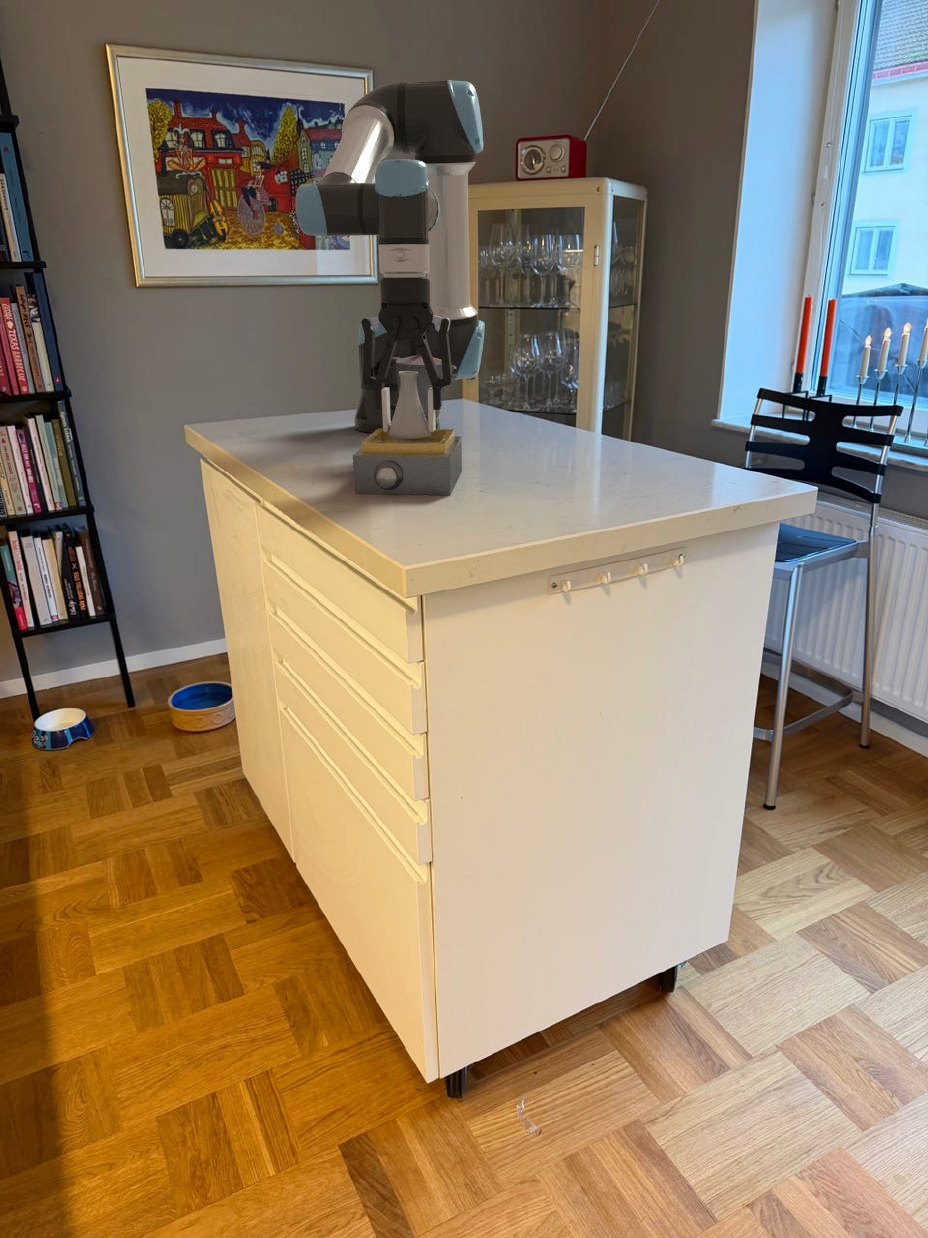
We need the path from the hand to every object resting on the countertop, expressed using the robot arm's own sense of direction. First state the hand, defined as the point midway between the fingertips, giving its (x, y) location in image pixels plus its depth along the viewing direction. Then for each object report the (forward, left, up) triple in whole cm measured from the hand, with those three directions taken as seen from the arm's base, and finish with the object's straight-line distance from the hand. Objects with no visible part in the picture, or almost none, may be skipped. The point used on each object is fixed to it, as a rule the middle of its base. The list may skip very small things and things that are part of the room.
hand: (409, 429), depth 138 cm
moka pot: (-19, -2, -9) cm, 21 cm away
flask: (0, 0, -1) cm, 1 cm away
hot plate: (+1, 0, -8) cm, 8 cm away
